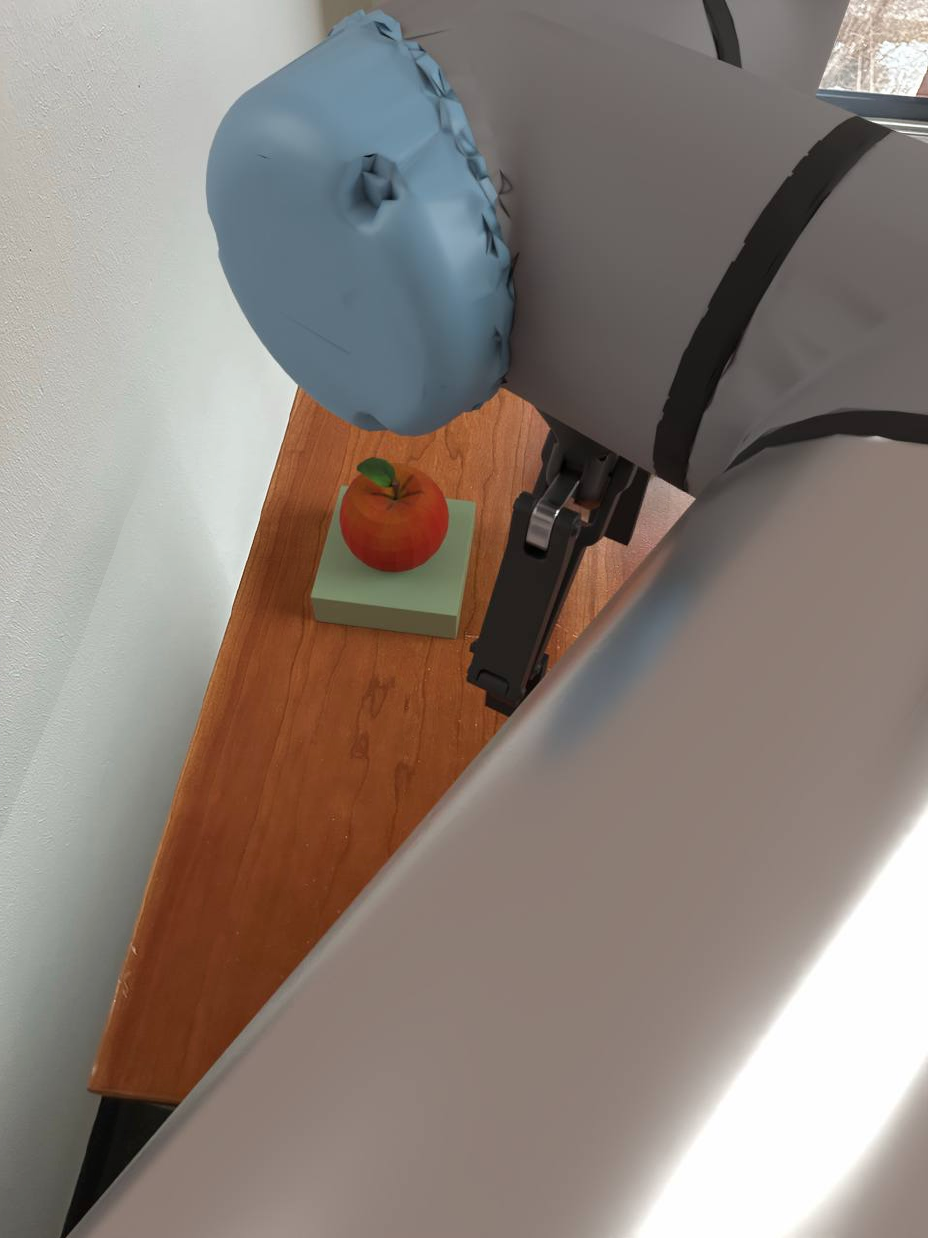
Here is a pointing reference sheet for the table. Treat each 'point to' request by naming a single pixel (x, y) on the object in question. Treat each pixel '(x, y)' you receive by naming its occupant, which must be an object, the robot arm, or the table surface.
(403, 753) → the table surface
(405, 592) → the green block
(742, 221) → the robot arm
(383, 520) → the fruit
